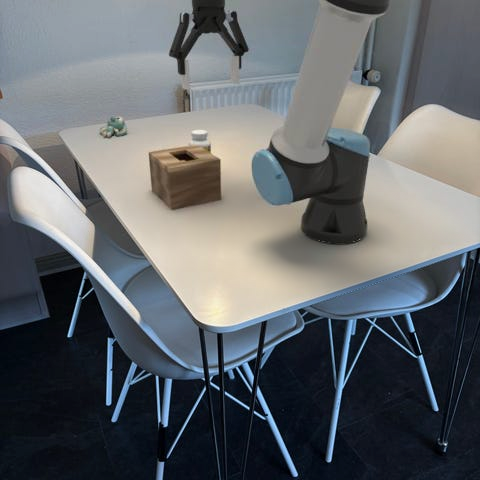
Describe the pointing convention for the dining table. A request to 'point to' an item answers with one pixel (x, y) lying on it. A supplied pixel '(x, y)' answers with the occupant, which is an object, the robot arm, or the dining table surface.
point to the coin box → (185, 176)
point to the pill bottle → (200, 139)
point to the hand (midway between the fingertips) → (211, 86)
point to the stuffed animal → (114, 127)
